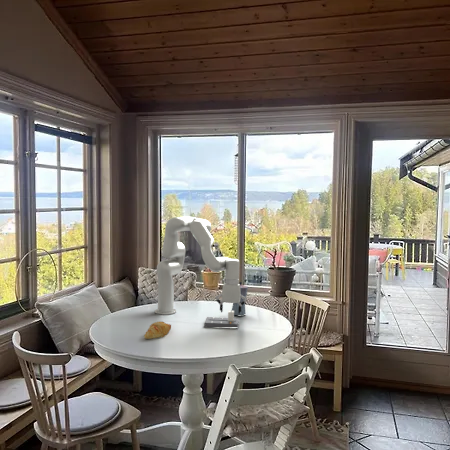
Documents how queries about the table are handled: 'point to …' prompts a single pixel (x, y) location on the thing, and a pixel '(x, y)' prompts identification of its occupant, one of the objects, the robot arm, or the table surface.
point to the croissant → (157, 330)
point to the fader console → (220, 322)
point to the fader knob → (231, 315)
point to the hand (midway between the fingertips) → (230, 312)
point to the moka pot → (235, 305)
